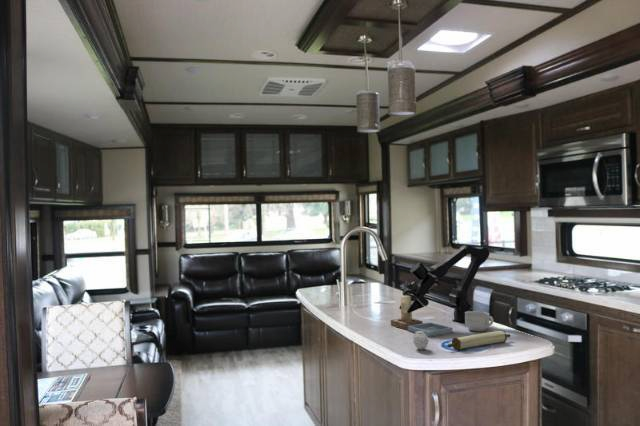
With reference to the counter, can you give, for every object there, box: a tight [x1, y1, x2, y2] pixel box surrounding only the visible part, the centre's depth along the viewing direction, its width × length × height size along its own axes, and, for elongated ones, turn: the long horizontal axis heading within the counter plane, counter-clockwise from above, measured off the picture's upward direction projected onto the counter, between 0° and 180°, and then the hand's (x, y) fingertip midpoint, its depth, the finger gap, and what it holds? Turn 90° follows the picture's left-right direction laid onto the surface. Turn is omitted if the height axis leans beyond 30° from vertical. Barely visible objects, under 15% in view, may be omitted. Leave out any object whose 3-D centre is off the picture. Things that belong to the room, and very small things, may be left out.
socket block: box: [390, 317, 423, 330], centre depth 235 cm, size 11×11×2 cm
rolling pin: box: [446, 329, 511, 351], centre depth 198 cm, size 32×6×5 cm, turn 114°
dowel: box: [400, 295, 413, 323], centre depth 235 cm, size 5×5×14 cm
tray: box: [407, 321, 453, 338], centre depth 222 cm, size 14×14×2 cm
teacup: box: [464, 310, 494, 332], centre depth 222 cm, size 14×11×8 cm
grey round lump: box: [412, 331, 429, 351], centre depth 195 cm, size 6×7×7 cm
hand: (403, 310), depth 234 cm, fingers open, 9 cm apart
